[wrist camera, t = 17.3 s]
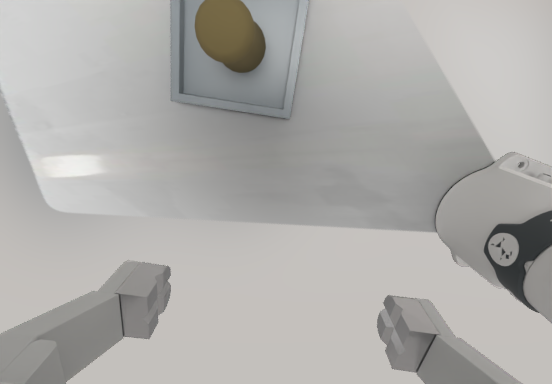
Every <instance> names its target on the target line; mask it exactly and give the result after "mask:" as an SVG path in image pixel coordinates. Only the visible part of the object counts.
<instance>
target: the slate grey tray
mask: <svg viewBox="0 0 552 384" xmlns="http://www.w3.org/2000/svg"><path fill="white" fill-rule="evenodd" d="M204 1H205V0H171V101H176V102H182V103H189V104H195V105H202V106H208V107H215V108H221V109H228V110H234V111H241V112H247V113H253V114H260V115H266V116H273V117H279V118H286V119H290V115H291V108H292V102H293V96H294V90H295V84H296V78H297V71H298V65H299V59H300V53H301V47H302V40H303V34H304V28H305V22H306V16H307V9H308V3H309V0H241V1H242V2H243V3H244V4H245V5H246V7H247V8H248V9H249V11H250V13H251V16H252V18H253V21H254V22H256V23H257V24H258V26H259V27H260V28H261V30H262V32H263V34H264V37H265V43H266V50H265V55H264V58H263V59H262V61H261V63H260V64H259V65H258V66H257V67H256V68H255V69H254V70H252V71H250V72H246V73H238V72H234V71H232V70H230V69H229V68H227V67H226V66H225V65H224V64H223V63H222V62H218V61H215V60H214V59H212V58H211V57H209V56H208V55H207V54H206V53H205V52H204V51H203V49H202V48H201V46H200V44H199V42H198V40H197V37H196V32H195V26H194V25H195V16H196V13H197V11H198V9H199V6H200V5H201V4H202V3H203V2H204Z"/></svg>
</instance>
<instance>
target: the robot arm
mask: <svg viewBox="0 0 552 384" xmlns="http://www.w3.org/2000/svg"><path fill="white" fill-rule="evenodd" d="M519 163H520V165H519V166H518V164H519ZM436 230H437V233H438V235H439V237H440V239H441V240H442V241H443V242H444V243H445V244H446V245H447V246H448V247H449V248H450V250H451V253H452V257H453V259H454V261H455V262H456V263H457V264H458V265H460V266H462V267H471V268H472V269H473V270H475V271H476V272H477V273H478V274H479V275H481V276H482V277H483V278H484V279H486V280H487V281H488V282H489V283H491V284H492V285H493V286H495V287H497V288H499V289H501V288H504V289H507V290H508V291H509V292H510V294H511V295H512V296H514V297H515V298H516V299H517V300H519V301H520V302H522V303H523V304H525V305H526V306H527V307H528V308H529V309H531V310H533V311H535V312H538V313H540V314H542V315H543V316H544V317H545V318H546V319H547V320H548V321H550V322H551V323H552V167H551V166H548V165H546V164H544V163H541V162H538V161H536V160H533V159H531V158H529V157H526V156H523V155H521V154H518V153H515V152H510V153H507V154H505V155H504V156H502V157H501V158H500V159H498V160H497V161H496V162H495V163H493V164H492V165H491V166H489V167H487V168H485V169H482V170H480V171H477V172H475V173H472V174H470V175H468V176H467V177H465V178H463V179H462V180H460V181H459V182H458V183H457V184H455V185H454V186H453V187H452V188H451V189H450V190H449V191H448V193H447V194H446V195H445V196H444V198H443V200H442V201H441V203H440V205H439V207H438V210H437V214H436ZM170 275H171V273H170V267H169V266H164V265H157V264H151V263H145V262H137V261H130V260H128V261H125V262H124V263H123V264H122V265H121V266H120V267H119V268H118V269H117V271H116V272H115V273H114V274H113V275H112V276H111V277H110V278H109V279H108V280H107V281H106V283H105V284H104V285H103V286H102V287H101V288H100V289H99V290H98V291H92V292H90V293H88V294H85V295H83V296H81V297H79V298H77V299H75V300H73V301H71V302H68V303H66V304H64V305H62V306H59V307H57V308H55V309H53V310H51V311H49V312H46V313H44V314H42V315H40V316H38V317H36V318H33V319H31V320H29V321H27V322H24V323H22V324H20V325H18V326H16V327H14V328H12V329H9V330H7V331H5V332H3V333H1V334H0V384H66V382H67V381H68V380H69V379H71V378H72V377H73V376H74V375H76V374H77V373H78V372H80V371H81V370H82V369H84V368H85V367H86V366H87V365H89V364H90V363H91V362H93V361H94V360H95V359H97V358H98V357H99V356H100V355H102V354H103V353H104V352H106V351H107V350H108V349H110V348H111V347H112V346H114V345H115V344H116V343H117V342H119V341H120V340H121V339H122V338H123V337H134V338H144V339H149V338H150V337H151V335H152V333H153V331H154V329H155V327H156V326H157V324H158V315H159V314H161V313H162V312H164V310H165V308H166V306H167V303H168V301H169V298H170V292H171V285H170V283H169V282H168V279H169V277H170ZM384 306H385V309H384V310H382V311H381V312H380V313H379V316H378V321H377V328H378V333H379V336H380V338H381V340H382V341H383V342H384V343H385V344H386V345H387V347H386V350H385V351H386V354H387V356H388V359H389V361H390V364H391V366H392V369H396V370H403V371H409V372H416V373H417V375H418V376H419V377H420V378H421V380H422V381H423V382H424V383H425V384H522V383H521V382H519V381H518V380H517V379H515V378H514V377H513V376H511V375H510V374H508V373H507V372H506V371H504V370H503V369H502V368H500V367H499V366H498V365H496V364H495V363H494V362H492V361H491V360H489V359H488V358H487V357H485V356H484V355H483V354H481V353H480V352H479V351H477V350H476V349H475V348H473V347H472V346H470V345H469V344H468V343H466V342H465V341H464V340H462V339H461V338H456V337H455V335H454V334H453V332H452V331H451V329H450V328H449V327H448V325H447V324H446V323H445V321H444V319H443V318H442V316H441V315H440V314H439V312H438V311H437V309H436V308H435V306H434V305H433V303H432V302H431V301H429V300H426V299H417V298H415V299H414V298H406V297H398V296H390V295H388V296H387V297H386V298H385V300H384Z"/></svg>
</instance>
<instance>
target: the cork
mask: <svg viewBox="0 0 552 384" xmlns="http://www.w3.org/2000/svg"><path fill="white" fill-rule="evenodd" d="M194 26H195V32H196V37H197V40H198V42H199V44H200V46H201V48H202V49H203V51H204V52H205V53H206V54H207V55H208V56H209V57H211V58H212V59H214V60H215V61H218V62H222V63H223V64H224V65H225V66H226V67H227V68H229V69H230V70H232V71H234V72H238V73H246V72H250V71H252V70H254V69H255V68H256V67H257V66H258V65H259V64H260V63H261V61H262V59H263V58H264V55H265V50H266V43H265V37H264V34H263V32H262V30H261V28H260V27H259V26H258V24H257V23H256V22H254V21H253V18H252V16H251V13H250V11H249V9H248V8H247V7H246V5H245V4H244V3H243V2H242V1H241V0H205V1H204V2H203V3H202V4H201V5H200V6H199V9H198V11H197V13H196V16H195V25H194Z"/></svg>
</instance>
